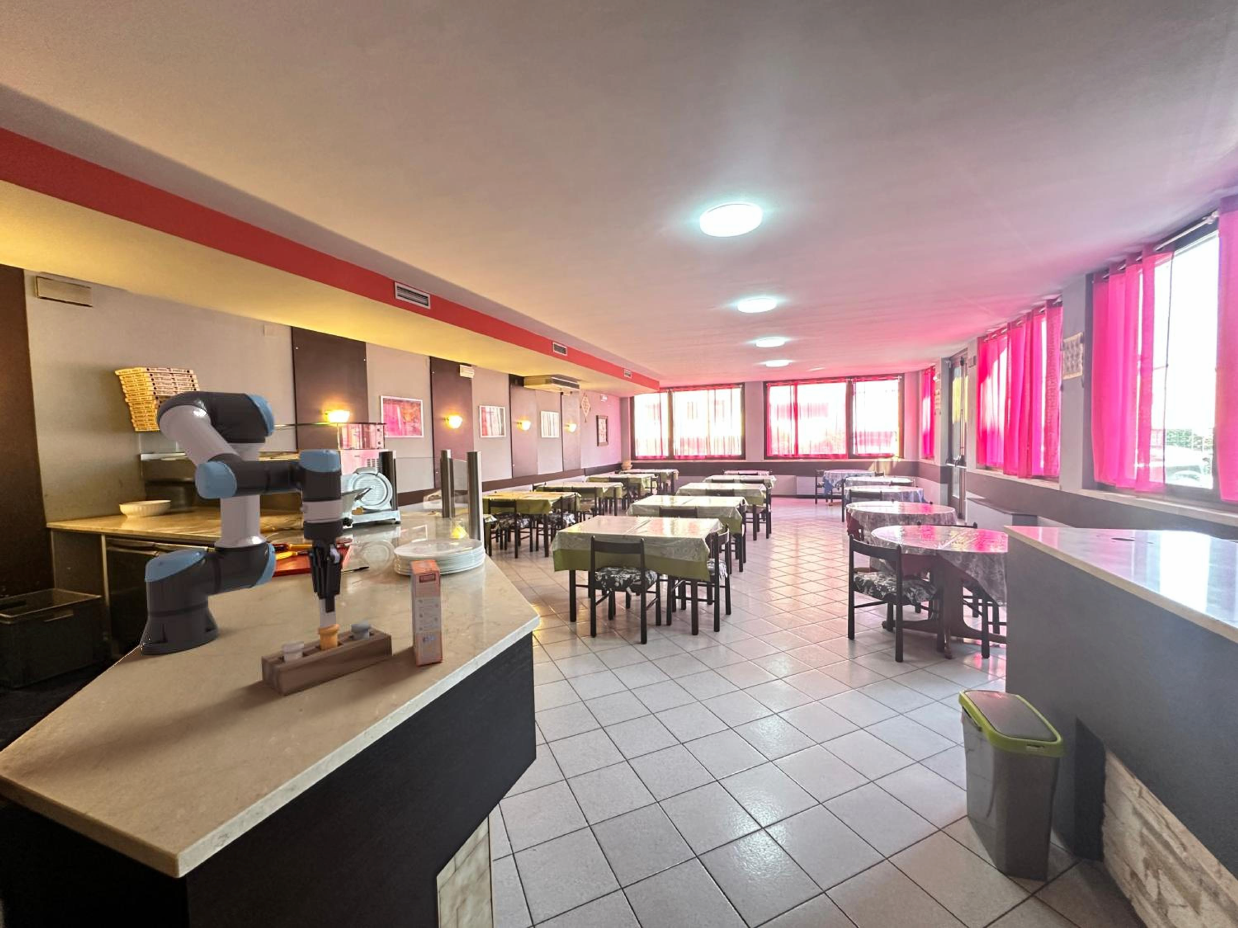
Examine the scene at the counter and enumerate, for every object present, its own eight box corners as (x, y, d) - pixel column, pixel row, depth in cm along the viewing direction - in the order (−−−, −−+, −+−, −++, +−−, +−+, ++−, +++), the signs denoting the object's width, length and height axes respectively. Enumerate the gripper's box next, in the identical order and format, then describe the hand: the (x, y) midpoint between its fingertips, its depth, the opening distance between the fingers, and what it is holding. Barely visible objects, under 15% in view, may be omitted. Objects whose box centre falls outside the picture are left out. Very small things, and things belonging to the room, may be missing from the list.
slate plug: (349, 655, 116) (348, 625, 115) (366, 649, 119) (365, 620, 118) (357, 659, 113) (356, 628, 113) (375, 653, 116) (373, 623, 116)
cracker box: (444, 661, 112) (441, 569, 111) (415, 667, 109) (411, 573, 109) (438, 640, 125) (435, 557, 124) (412, 645, 122) (408, 560, 121)
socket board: (262, 679, 105) (261, 656, 105) (367, 645, 123) (366, 625, 123) (283, 695, 98) (282, 670, 98) (392, 656, 115) (391, 635, 115)
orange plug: (316, 659, 110) (314, 627, 110) (335, 652, 113) (333, 622, 113) (323, 663, 107) (322, 631, 107) (343, 657, 111) (341, 625, 110)
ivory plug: (280, 678, 104) (278, 645, 104) (301, 671, 108) (299, 639, 107) (287, 683, 102) (285, 649, 102) (308, 676, 105) (307, 643, 105)
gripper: (292, 520, 110) (297, 625, 111) (316, 524, 102) (322, 637, 103) (328, 515, 116) (333, 615, 117) (354, 519, 108) (359, 626, 109)
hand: (328, 625), depth 110 cm, fingers closed
